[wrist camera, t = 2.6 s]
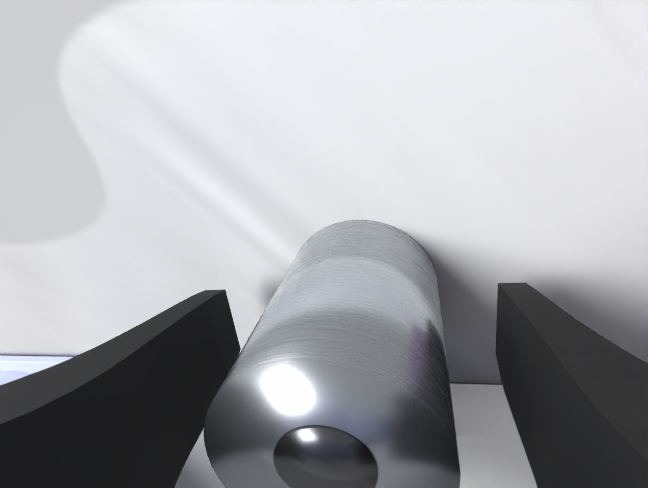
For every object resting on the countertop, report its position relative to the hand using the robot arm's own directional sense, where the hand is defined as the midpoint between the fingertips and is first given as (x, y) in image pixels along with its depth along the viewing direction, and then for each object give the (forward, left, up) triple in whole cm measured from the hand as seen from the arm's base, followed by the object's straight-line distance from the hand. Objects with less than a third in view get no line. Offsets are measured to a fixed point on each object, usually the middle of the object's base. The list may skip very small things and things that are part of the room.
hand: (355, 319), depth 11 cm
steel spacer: (0, 0, -2) cm, 2 cm away
